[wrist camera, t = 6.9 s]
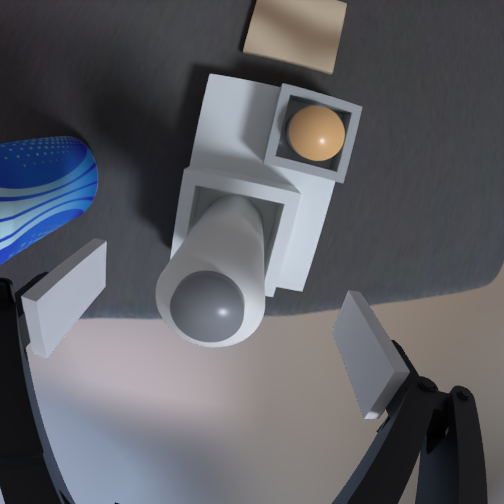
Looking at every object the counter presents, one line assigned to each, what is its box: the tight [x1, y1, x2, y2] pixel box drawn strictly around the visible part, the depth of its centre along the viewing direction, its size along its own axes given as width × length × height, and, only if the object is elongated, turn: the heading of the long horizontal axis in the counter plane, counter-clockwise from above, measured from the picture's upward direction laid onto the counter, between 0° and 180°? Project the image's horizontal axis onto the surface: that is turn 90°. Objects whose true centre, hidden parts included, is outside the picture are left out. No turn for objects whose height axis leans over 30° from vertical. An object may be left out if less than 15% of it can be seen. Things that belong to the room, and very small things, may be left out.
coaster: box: [243, 0, 347, 75], centre depth 22 cm, size 8×8×1 cm
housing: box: [170, 74, 362, 297], centre depth 24 cm, size 17×12×6 cm
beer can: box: [0, 136, 98, 265], centre depth 19 cm, size 8×8×16 cm
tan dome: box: [284, 106, 345, 161], centre depth 21 cm, size 4×4×3 cm
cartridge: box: [156, 195, 265, 347], centre depth 19 cm, size 5×5×14 cm
